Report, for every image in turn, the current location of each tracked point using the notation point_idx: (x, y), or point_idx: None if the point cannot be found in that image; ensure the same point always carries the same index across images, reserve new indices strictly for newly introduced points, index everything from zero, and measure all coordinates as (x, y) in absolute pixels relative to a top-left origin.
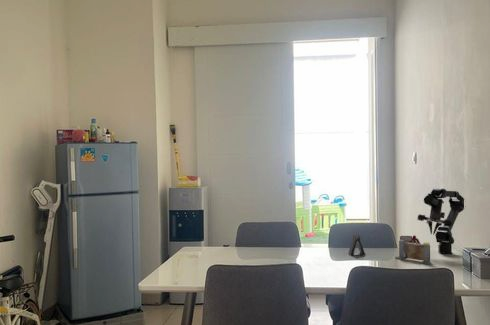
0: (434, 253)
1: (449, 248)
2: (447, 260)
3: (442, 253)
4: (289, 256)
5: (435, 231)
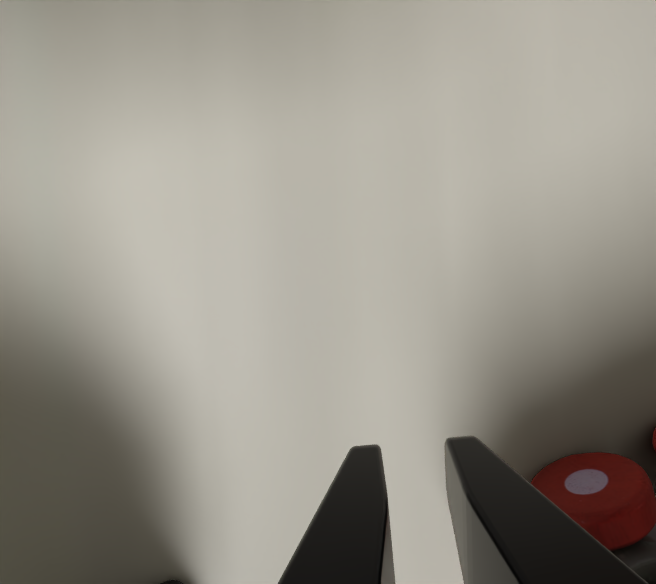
0: None
1: None
2: (47, 27)
3: (169, 581)
4: None
5: (308, 536)
